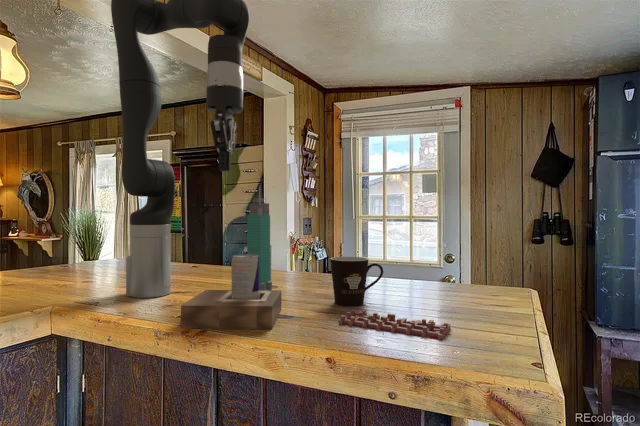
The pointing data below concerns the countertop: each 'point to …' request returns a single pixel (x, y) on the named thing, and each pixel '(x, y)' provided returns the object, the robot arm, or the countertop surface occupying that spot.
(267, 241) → the building
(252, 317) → the holder board
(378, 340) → the countertop surface
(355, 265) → the coffee mug
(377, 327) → the chocolate bar
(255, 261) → the energy drink
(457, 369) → the countertop surface
